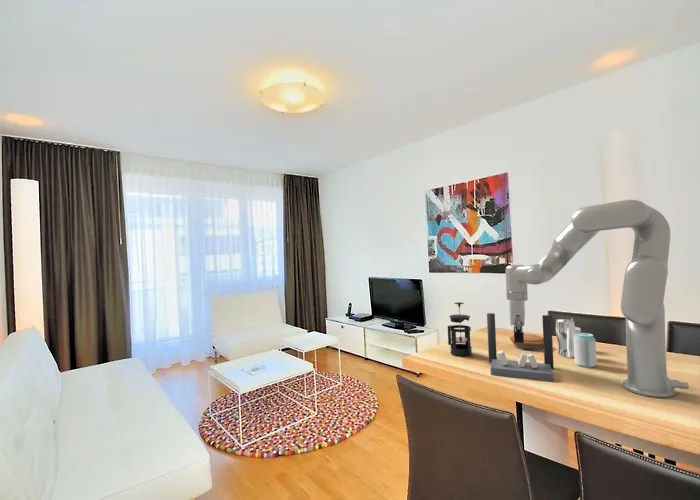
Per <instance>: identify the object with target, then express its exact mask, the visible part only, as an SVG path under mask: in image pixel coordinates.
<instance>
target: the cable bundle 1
mask: <svg viewBox="0 0 700 500" xmlns="http://www.w3.org/2000/svg"><path fill="white" fill-rule="evenodd" d="M486 321H487V322H486V324H487V325H486V326H487V349H488V363H489V364H491V363H492V359H497V360H498V357H497V356H498V353H497V338H496V334H497V333H496V314H495V313H492V312H488V313H486Z"/></svg>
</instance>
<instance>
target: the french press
mask: <svg viewBox="0 0 700 500" xmlns="http://www.w3.org/2000/svg"><path fill="white" fill-rule="evenodd" d="M464 304H465V302H460V301H458V302H454V305H457V307H458V314H451V315H449V316H448V317H449V318H450V322H451V323H458V324H454V325H447V340H448V342H447V344H448V346H450V353H451V354H452V356H454V357H458V356H460V358H464V357H465V358H466V357H467V358H469V357H471V356H472V355H473V351H472V349H473V348H472V347H473V346H472V345H471V329H472V328H471V326H468V325H464V324H461V323H462V322H464V321H468V322H469V321H470V318H471V316H470V315H467V314H461V305H464ZM457 333H459V337H457ZM462 333H464V336H463V337H462ZM451 354H450V355H451Z"/></svg>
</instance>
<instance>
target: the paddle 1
mask: <svg viewBox="0 0 700 500" xmlns="http://www.w3.org/2000/svg"><path fill="white" fill-rule="evenodd" d="M497 356H498V358H499V360H500V361H501V363H502V365H507V364H508V361H509V360H508V359H507V357H506V354H505V352H504V350H503V349H502V350H498V351H497ZM507 360H508V361H507Z"/></svg>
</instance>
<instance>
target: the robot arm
mask: <svg viewBox="0 0 700 500" xmlns="http://www.w3.org/2000/svg"><path fill="white" fill-rule="evenodd" d="M626 228H628V229H632V231H633V233H634V241H633V249H632V250H633V251H632V255H631V256H632V257H631V261H630V262H629V263H628V264H627V266H626V267H625V270H624V276H623V283H622V284H623V285H622V291H621V292H622V293H621V299H620V311H621V313H622V315H623V317H624V318H625V345H626V346H625V347H626V363H627V364H626V367H627V379H624V380H622V381H621V385H622V387H623V388H624V389H625V390H627V391H629V392H632V393H636V394H639V395H642V396H646V397H653V398H672V397H673V396H675V392H676V391H675V389H676V388H677V389H683V390H689V388H690V386H689V383H688V382H684V381H680V380H679V379H671V378H669V377H668V372H667V371H668V369H667V351H666V349H667V348H666V343H667V342H666V321H665V319H666V318H665V317H666V316H665V315H666V313H665V312H666V311H665V303H664V301H665V292H666V288H667V287H666V286H667V279H668V276H669V269H668V263H669V255H670V244H671V228H670V224H669V222H668V220H667V219H666V217H665V216H664V215H663V214H662V213H661V212H660V211H658V210H657V209H656V208H653V207H652V206H650V205H648V204H646V203H644V202H643V201H640V200H638V199H625V200H618V201H611V202H607V203H603V204H602V203H601V204H593V205H588V206H582V207H580V208H579V209H577V210H576V211H574V212H573V214H572V216H571V220H570V222H569V223H568V224H567V225H566V227H565V228H564V229H563V230H562V231H560V233H559V234H558V235H556V236H555V238H554V240H553V242H552V246H551V248H550V250H549V251H548V252H547V254H546V255H545V256H544V257H542V259H541V260H540V261H539V262H538V263H536V264H529V265H524V264H509V265H507V266H506V267H505V286H506V287H505V289H506V291H505V292H506V300H507V301H509V323H510V324H509V325H510V326H512V327H513V336H514V340H515V342H519V343H524V334H525V333H524V329H523V327H524V326H525V317H526V315H525V314H526V312H525V311H526V310H525V308H526V307H525V305H526V304H525V301H528V300H529V299H528V297H529V296H528V285H534V286H536V285H541V284H544V283H547V282H549V281H550V280H552V279H553V278H554V277H555V276H556V275H557V274H558V273H559V272H560V271H561V270H562V269H563V268H565V266H566V265H567V264H568V263H569V262H570V261H571V260H572V259H573V258H574V257H575V256H576V254H578V252H579V251H580V250H582V248H583V247H585V245H587V243H588V242H589V241H591V240H592V239H593V238H594V237H595V236H596V235H597V234H598V233H599V232H600V231H601V232H602V231H610V230H618V229H626Z"/></svg>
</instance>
